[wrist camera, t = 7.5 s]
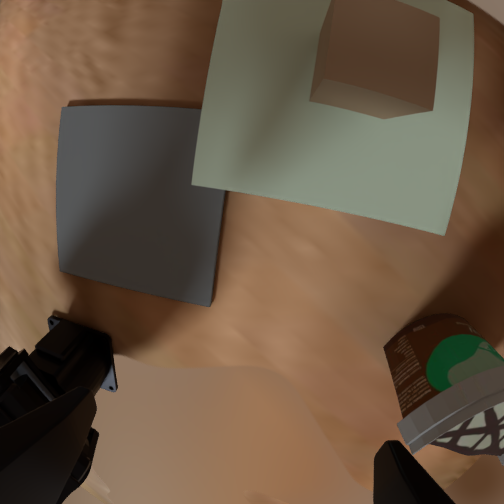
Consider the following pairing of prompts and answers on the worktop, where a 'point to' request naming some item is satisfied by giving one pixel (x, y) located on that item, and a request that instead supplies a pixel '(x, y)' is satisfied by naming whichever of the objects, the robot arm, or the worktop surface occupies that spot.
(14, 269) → the worktop surface
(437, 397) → the food container
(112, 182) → the mat
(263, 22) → the lid
